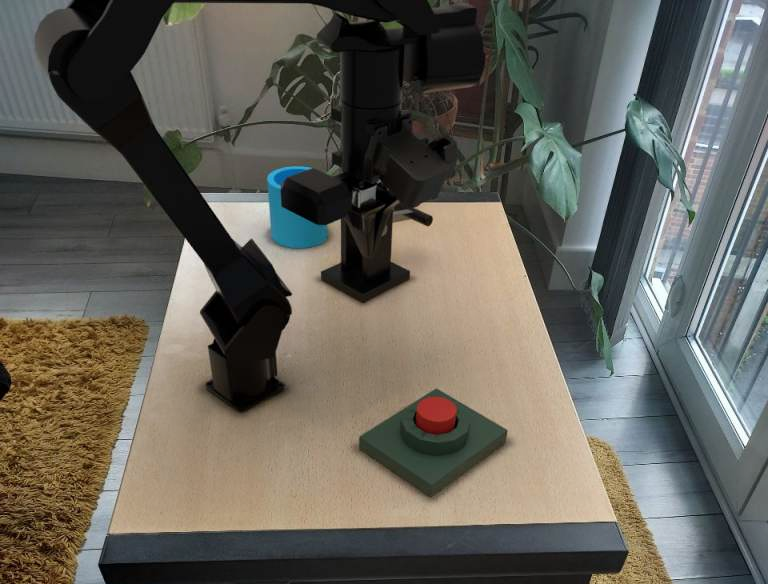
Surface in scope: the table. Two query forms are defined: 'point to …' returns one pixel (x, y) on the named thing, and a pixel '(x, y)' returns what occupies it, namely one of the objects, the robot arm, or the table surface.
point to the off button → (436, 415)
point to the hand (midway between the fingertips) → (367, 256)
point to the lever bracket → (365, 267)
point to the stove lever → (410, 215)
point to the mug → (291, 216)
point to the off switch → (432, 445)
